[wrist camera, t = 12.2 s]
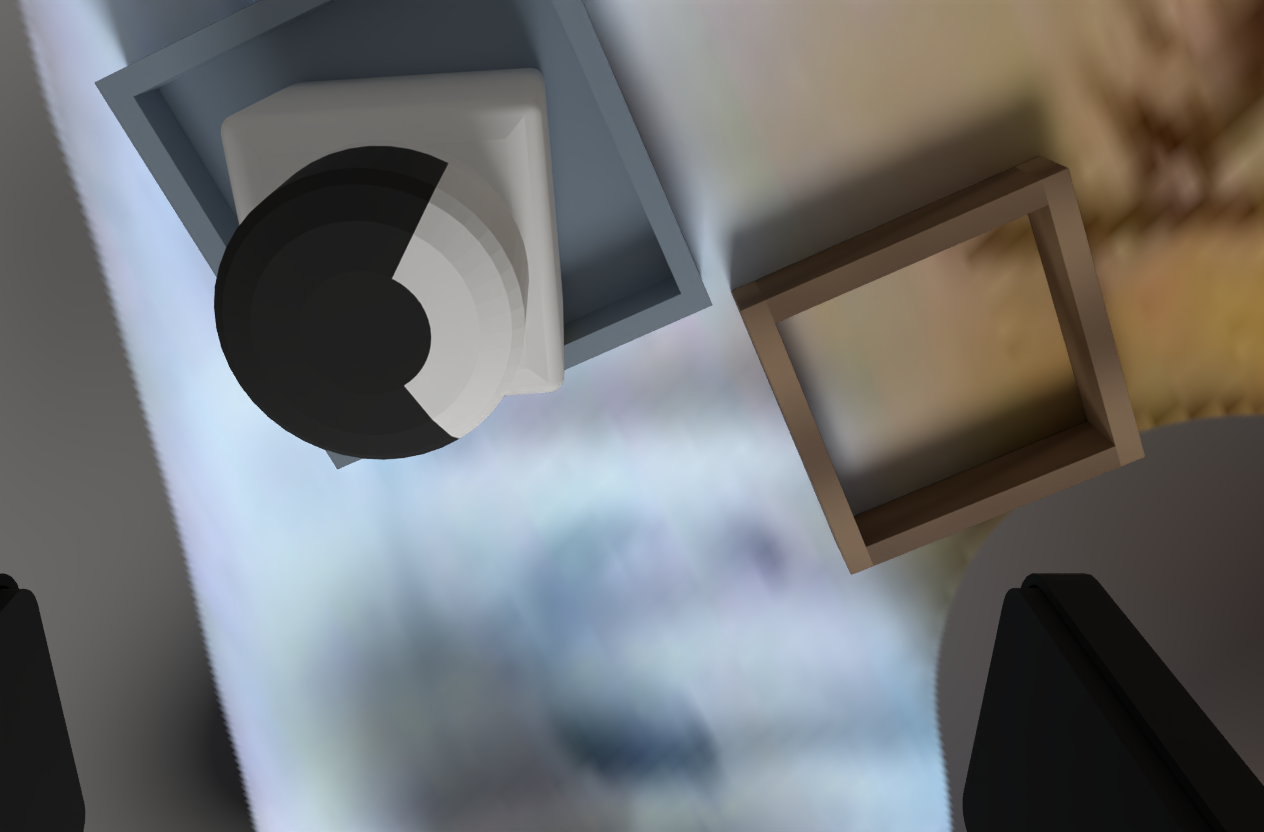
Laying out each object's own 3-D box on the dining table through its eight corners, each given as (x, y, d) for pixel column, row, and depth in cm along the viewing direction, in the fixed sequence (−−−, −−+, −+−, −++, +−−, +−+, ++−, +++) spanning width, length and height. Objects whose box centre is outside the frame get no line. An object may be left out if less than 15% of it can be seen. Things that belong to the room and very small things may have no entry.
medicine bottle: (330, 324, 33) (215, 512, 22) (288, 81, 30) (130, 157, 19) (564, 307, 33) (566, 485, 22) (543, 65, 30) (535, 131, 19)
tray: (129, 72, 30) (94, 82, 28) (527, -125, 29) (525, -132, 26) (351, 435, 35) (337, 469, 33) (702, 280, 34) (712, 305, 31)
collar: (730, 291, 34) (740, 311, 32) (1039, 156, 33) (1068, 167, 31) (836, 544, 38) (850, 575, 36) (1115, 431, 37) (1144, 456, 35)
